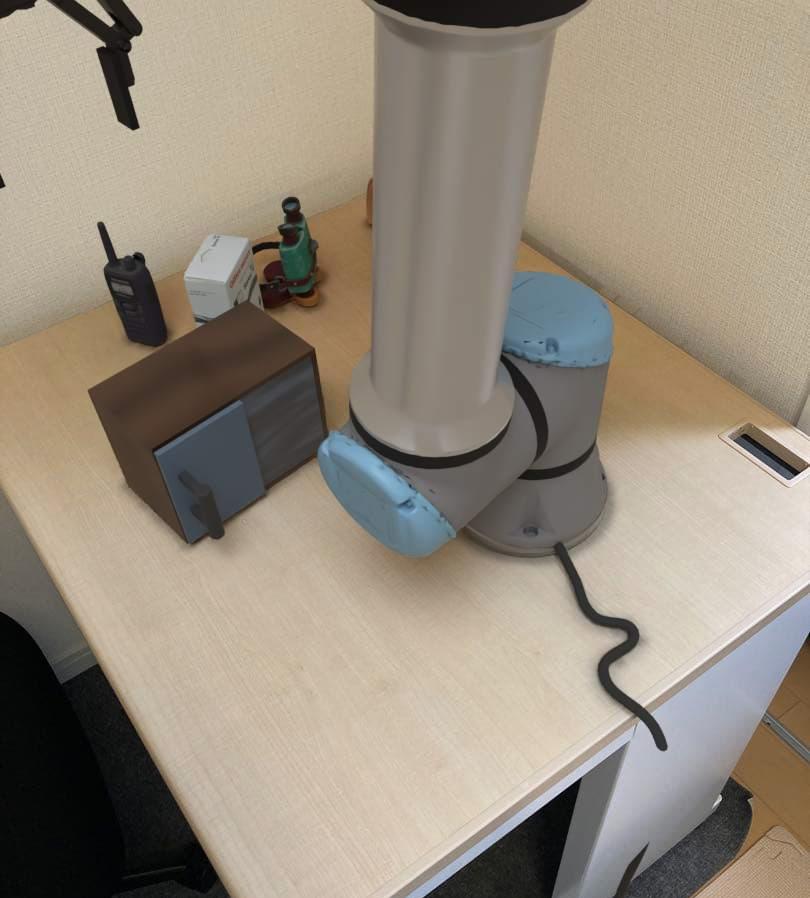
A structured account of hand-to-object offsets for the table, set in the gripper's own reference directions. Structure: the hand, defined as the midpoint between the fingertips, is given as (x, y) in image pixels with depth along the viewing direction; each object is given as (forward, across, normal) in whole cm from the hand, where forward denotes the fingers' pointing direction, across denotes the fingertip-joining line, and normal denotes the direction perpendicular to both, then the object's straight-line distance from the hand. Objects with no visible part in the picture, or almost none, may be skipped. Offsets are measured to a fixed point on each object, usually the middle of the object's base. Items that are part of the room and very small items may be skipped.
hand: (64, 153), depth 82 cm
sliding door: (+26, +6, +26) cm, 37 cm away
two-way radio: (+26, -4, -6) cm, 27 cm away
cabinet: (+26, +1, +18) cm, 32 cm away
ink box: (+26, -10, +3) cm, 29 cm away
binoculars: (+26, -20, -1) cm, 33 cm away
